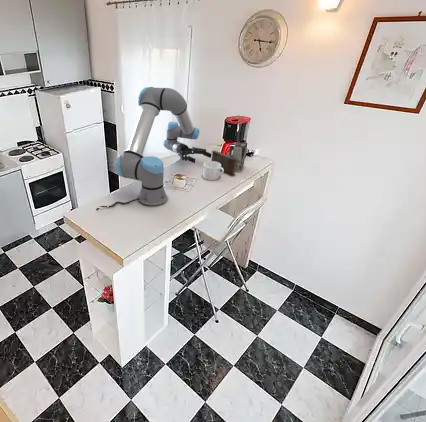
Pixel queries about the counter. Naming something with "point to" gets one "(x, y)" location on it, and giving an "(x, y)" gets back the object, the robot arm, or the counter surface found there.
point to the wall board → (225, 162)
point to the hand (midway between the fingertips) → (203, 158)
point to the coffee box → (239, 155)
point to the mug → (212, 170)
